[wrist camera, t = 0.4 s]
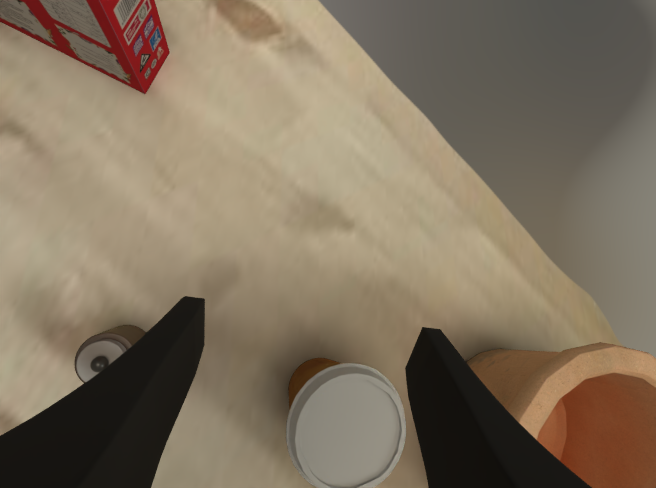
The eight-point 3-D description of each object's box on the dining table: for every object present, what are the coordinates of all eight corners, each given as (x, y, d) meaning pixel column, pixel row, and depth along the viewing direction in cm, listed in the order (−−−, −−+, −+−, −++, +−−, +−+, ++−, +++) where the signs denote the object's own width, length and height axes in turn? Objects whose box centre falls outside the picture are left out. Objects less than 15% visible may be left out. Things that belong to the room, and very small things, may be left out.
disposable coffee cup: (262, 428, 37) (273, 494, 26) (285, 333, 39) (306, 355, 27) (350, 442, 39) (398, 509, 28) (369, 351, 41) (422, 379, 29)
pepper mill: (137, 379, 35) (111, 404, 28) (90, 362, 34) (51, 383, 27) (159, 335, 36) (139, 348, 29) (114, 317, 35) (82, 326, 28)
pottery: (604, 404, 47) (756, 455, 33) (510, 563, 42) (645, 701, 28) (490, 288, 45) (603, 291, 31) (376, 441, 40) (450, 526, 26)
